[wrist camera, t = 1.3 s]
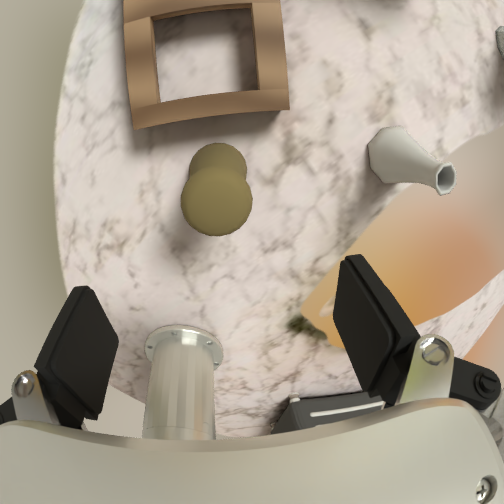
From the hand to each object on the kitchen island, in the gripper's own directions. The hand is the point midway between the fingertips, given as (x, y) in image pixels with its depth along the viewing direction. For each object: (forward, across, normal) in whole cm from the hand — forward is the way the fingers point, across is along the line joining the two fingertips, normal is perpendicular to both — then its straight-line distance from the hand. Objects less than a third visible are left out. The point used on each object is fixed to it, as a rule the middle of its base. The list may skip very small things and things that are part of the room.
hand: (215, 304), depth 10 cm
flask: (+21, -20, 0) cm, 29 cm away
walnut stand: (+21, 0, -16) cm, 27 cm away
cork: (+21, 0, 0) cm, 21 cm away
